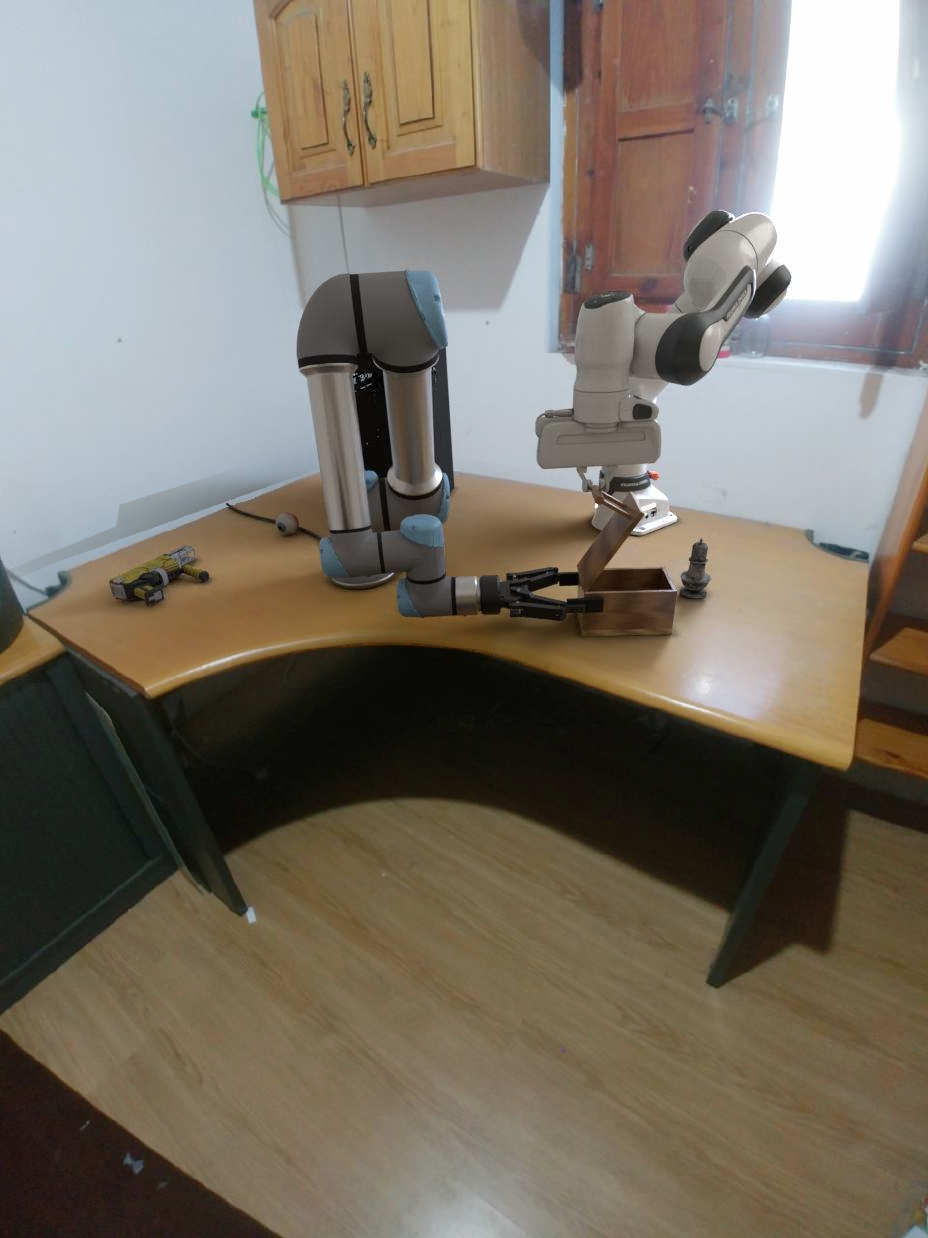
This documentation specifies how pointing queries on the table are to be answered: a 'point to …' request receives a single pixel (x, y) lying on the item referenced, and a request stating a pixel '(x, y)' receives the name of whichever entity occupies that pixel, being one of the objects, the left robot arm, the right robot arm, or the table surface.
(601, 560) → the lid
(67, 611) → the table surface
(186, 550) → the toy gun
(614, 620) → the chest
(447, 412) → the black computer tower
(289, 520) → the eyeball
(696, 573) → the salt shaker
